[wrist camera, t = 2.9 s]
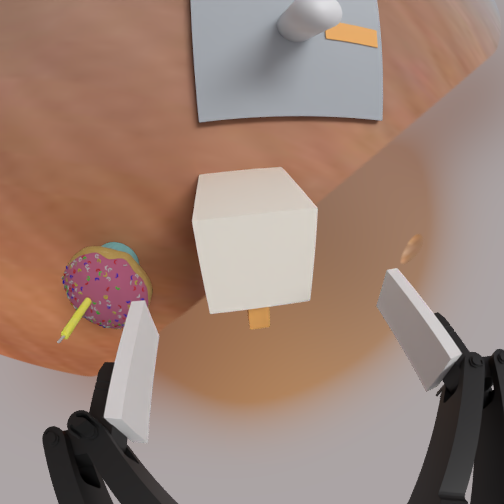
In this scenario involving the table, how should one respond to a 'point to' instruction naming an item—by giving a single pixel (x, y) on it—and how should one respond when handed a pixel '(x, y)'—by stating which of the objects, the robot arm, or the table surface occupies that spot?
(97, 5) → the table surface
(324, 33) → the post base
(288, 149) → the table surface
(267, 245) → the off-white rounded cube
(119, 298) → the cupcake
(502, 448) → the robot arm
